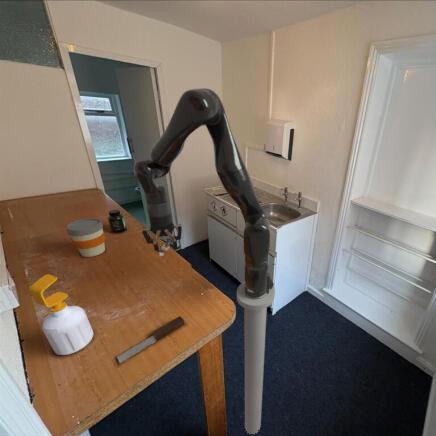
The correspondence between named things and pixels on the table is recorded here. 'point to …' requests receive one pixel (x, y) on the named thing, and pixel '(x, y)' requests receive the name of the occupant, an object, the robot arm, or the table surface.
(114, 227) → the supplement bottle
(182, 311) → the table surface
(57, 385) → the table surface
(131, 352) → the knife
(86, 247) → the reusable coffee cup
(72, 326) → the soap bottle
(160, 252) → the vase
